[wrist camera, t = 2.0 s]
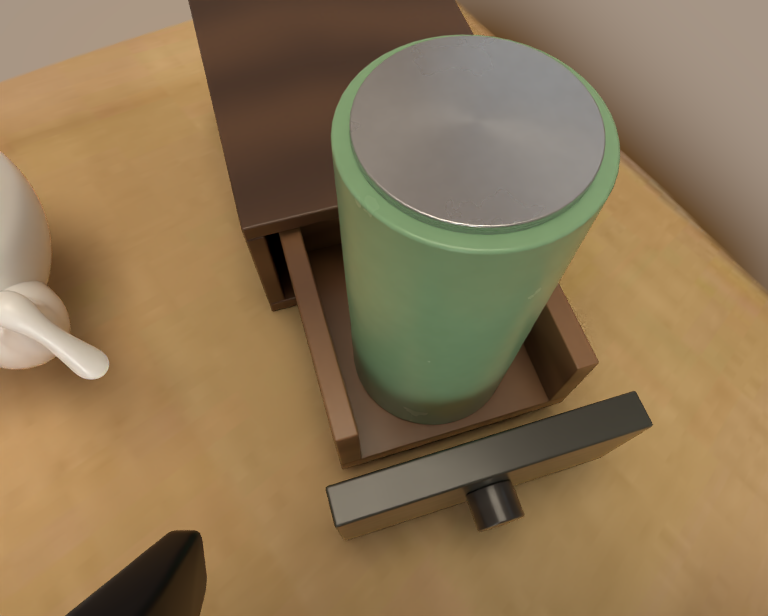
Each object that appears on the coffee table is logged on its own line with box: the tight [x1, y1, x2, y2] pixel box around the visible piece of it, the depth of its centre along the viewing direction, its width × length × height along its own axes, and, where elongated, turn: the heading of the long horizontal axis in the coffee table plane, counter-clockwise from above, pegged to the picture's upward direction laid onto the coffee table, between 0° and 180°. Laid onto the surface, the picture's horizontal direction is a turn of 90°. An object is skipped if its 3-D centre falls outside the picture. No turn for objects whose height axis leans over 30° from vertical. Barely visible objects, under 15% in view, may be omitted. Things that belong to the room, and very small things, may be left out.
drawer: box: [278, 218, 653, 541], centre depth 21 cm, size 14×10×5 cm
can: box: [331, 35, 620, 425], centre depth 17 cm, size 6×6×12 cm
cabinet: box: [188, 0, 474, 311], centre depth 26 cm, size 13×11×6 cm
